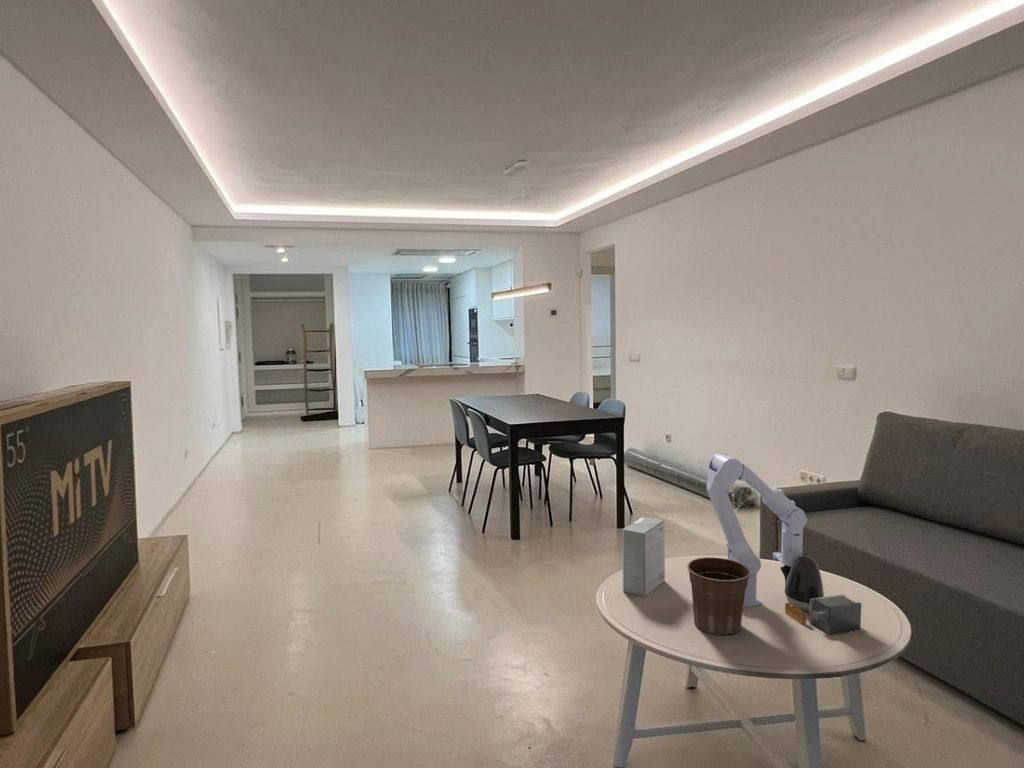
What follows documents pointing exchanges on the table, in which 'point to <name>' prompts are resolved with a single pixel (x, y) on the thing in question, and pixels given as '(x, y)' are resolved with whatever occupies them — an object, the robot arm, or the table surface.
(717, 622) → the plant pot
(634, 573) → the hard drive box
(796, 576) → the dark grey egg shape
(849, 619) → the motor
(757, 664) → the table surface
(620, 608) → the table surface
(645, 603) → the table surface
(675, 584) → the table surface
